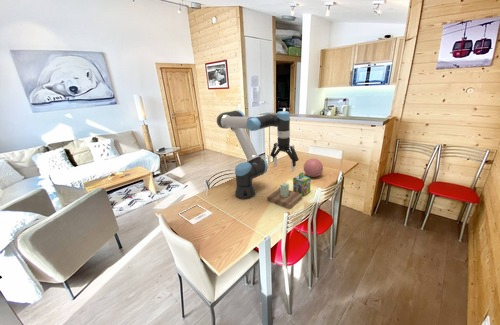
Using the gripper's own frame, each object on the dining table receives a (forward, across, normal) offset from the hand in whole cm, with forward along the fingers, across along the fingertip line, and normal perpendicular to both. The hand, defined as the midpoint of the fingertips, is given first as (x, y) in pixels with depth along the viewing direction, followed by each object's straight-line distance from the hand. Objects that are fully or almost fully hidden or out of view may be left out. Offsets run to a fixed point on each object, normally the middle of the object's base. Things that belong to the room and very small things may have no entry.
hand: (283, 168), depth 138 cm
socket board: (+23, +1, -1) cm, 23 cm away
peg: (+23, +1, -1) cm, 23 cm away
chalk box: (+23, +5, +16) cm, 28 cm away
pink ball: (+23, -2, +47) cm, 53 cm away
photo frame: (+24, -36, -49) cm, 65 cm away
